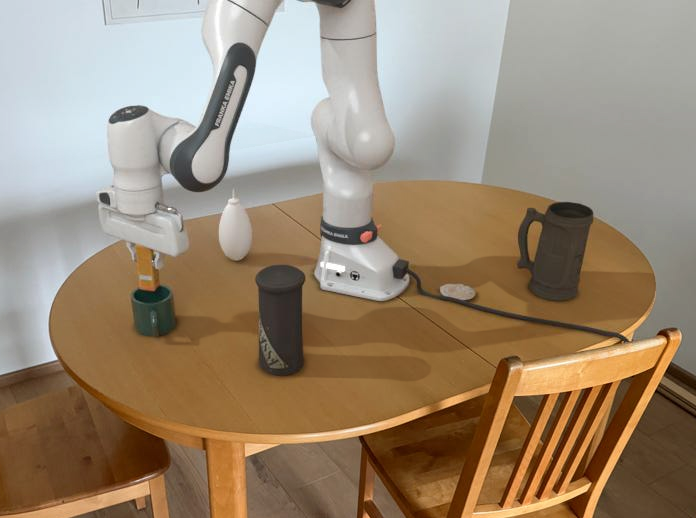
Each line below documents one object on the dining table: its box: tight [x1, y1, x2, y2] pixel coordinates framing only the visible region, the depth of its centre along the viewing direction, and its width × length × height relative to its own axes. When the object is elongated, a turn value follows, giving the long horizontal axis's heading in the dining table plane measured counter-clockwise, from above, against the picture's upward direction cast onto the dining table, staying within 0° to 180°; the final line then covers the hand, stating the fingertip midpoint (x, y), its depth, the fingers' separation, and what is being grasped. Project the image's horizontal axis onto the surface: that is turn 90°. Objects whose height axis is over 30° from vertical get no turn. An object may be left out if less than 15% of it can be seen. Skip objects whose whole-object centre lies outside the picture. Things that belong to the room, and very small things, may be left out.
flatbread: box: [439, 283, 476, 301], centre depth 161 cm, size 8×8×1 cm
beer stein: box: [516, 201, 594, 302], centre depth 159 cm, size 15×11×20 cm
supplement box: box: [136, 244, 161, 291], centre depth 141 cm, size 3×3×10 cm
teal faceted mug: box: [130, 284, 177, 339], centre depth 146 cm, size 12×8×8 cm
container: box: [254, 264, 306, 377], centre depth 132 cm, size 9×9×20 cm
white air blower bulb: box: [218, 188, 253, 262], centre depth 170 cm, size 8×8×18 cm
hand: (147, 264), depth 141 cm, fingers closed on supplement box, 4 cm apart
